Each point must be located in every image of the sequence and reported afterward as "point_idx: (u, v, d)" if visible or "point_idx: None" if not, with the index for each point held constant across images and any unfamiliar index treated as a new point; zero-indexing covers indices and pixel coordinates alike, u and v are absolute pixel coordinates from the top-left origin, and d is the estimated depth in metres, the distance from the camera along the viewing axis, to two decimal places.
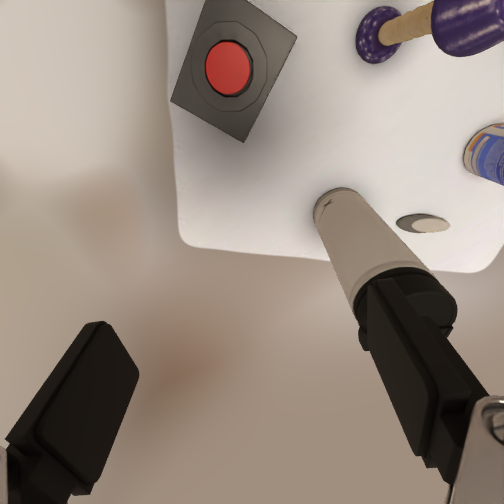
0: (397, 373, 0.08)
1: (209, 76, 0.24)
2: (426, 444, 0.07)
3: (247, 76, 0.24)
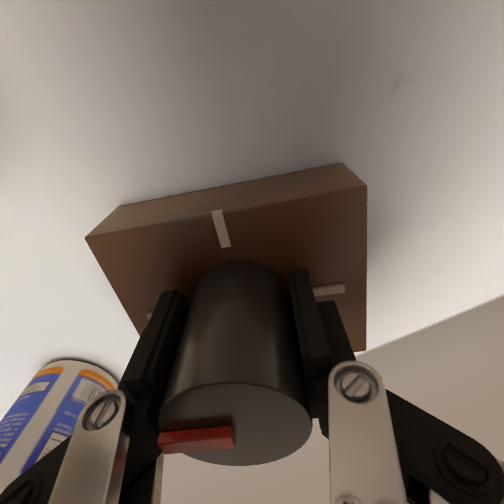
0: None
1: None
2: (315, 407, 0.08)
3: None
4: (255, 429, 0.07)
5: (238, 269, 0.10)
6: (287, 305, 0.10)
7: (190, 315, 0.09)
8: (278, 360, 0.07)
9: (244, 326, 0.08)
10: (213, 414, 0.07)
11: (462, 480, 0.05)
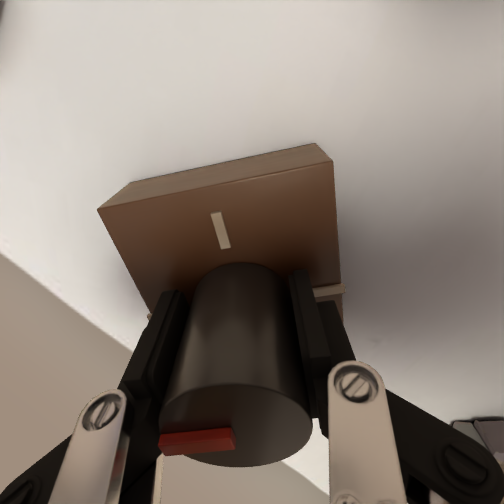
0: None
1: None
2: (315, 407, 0.08)
3: None
4: (255, 430, 0.07)
5: (238, 271, 0.10)
6: (286, 306, 0.10)
7: (190, 317, 0.09)
8: (277, 361, 0.07)
9: (243, 327, 0.08)
10: (213, 415, 0.07)
11: (462, 480, 0.05)
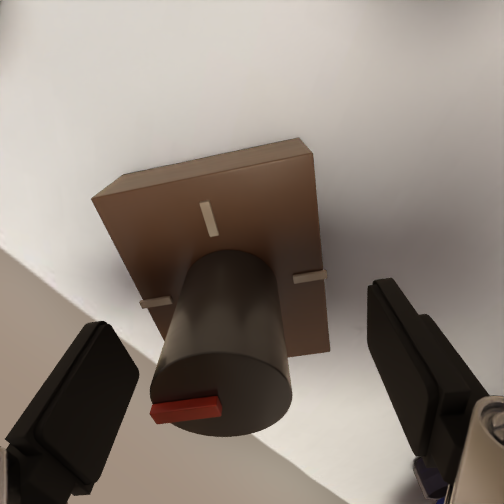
0: (397, 373, 0.08)
1: None
2: (426, 444, 0.07)
3: None
4: (240, 399, 0.08)
5: (226, 257, 0.11)
6: (271, 289, 0.10)
7: (180, 299, 0.10)
8: (260, 335, 0.08)
9: (229, 305, 0.08)
10: (200, 384, 0.08)
11: None
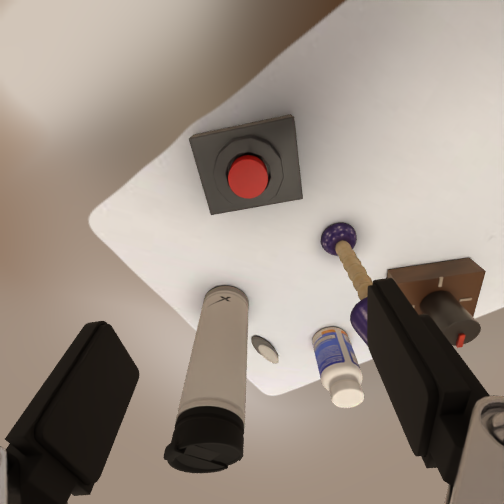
0: (397, 373, 0.08)
1: (232, 170, 0.25)
2: (426, 444, 0.07)
3: (254, 196, 0.27)
4: (462, 329, 0.31)
5: (422, 306, 0.35)
6: (438, 301, 0.34)
7: None
8: (445, 320, 0.32)
9: (435, 320, 0.33)
10: (452, 336, 0.32)
11: None
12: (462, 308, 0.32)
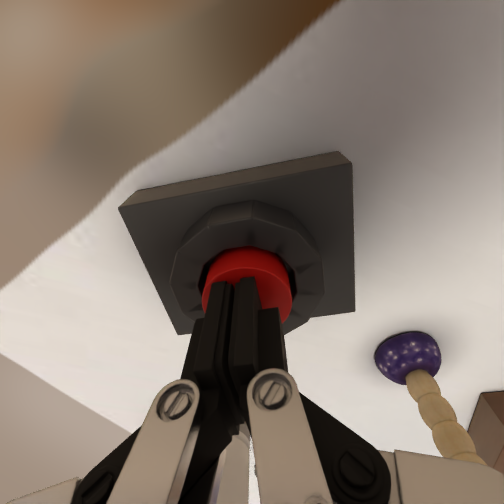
0: None
1: (210, 288, 0.11)
2: None
3: None
4: None
5: None
6: None
7: None
8: None
9: None
10: None
11: (350, 485, 0.05)
12: None
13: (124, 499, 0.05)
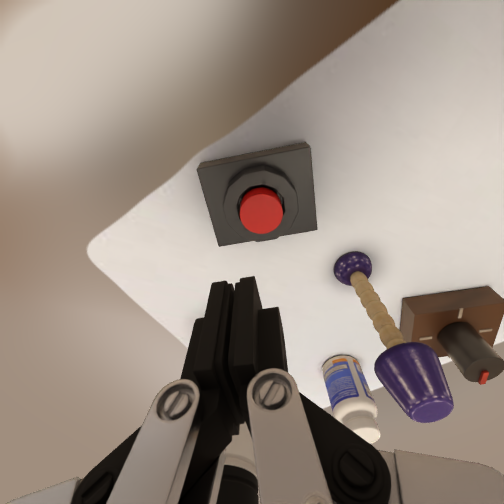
0: None
1: (244, 205, 0.23)
2: None
3: (268, 231, 0.25)
4: (486, 366, 0.30)
5: (441, 338, 0.34)
6: (458, 334, 0.32)
7: None
8: (467, 356, 0.30)
9: (456, 355, 0.31)
10: (475, 373, 0.30)
11: (350, 485, 0.05)
12: (485, 343, 0.30)
13: (124, 499, 0.05)
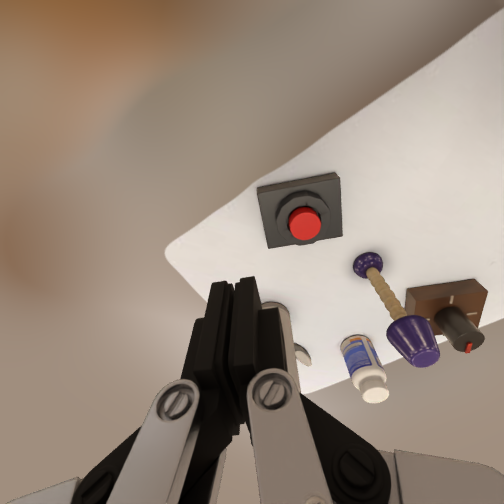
0: None
1: (294, 220, 0.33)
2: None
3: (309, 238, 0.34)
4: (470, 339, 0.39)
5: (436, 319, 0.43)
6: (449, 315, 0.41)
7: (444, 334, 0.43)
8: (455, 331, 0.39)
9: (447, 331, 0.41)
10: (462, 344, 0.40)
11: (350, 485, 0.05)
12: (469, 321, 0.40)
13: (124, 499, 0.05)
